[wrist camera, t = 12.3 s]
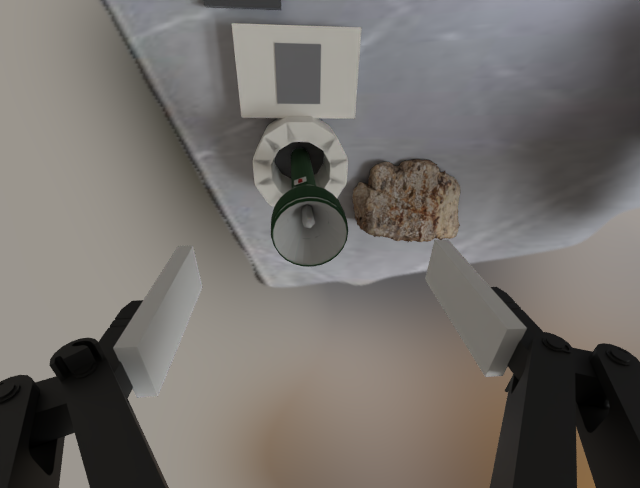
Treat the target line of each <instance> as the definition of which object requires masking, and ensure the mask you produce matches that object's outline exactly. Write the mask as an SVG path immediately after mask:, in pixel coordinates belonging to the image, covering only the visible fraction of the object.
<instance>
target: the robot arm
mask: <svg viewBox="0 0 640 488" xmlns="http://www.w3.org/2000/svg"><path fill="white" fill-rule="evenodd" d="M425 280H426V282H427V283H428V285H429V287H430V288H431V290H432V292H433V293H434V295H435V296H436V298H437V300H438V301H439V303H440V304H441V306H442V308H443V309H444V311H445V313H446V314H447V316H448V317H449V319H450V321H451V322H452V324H453V325H454V327H455V329H456V330H457V332H458V333H459V335H460V337H461V338H462V340H463V341H464V343H465V345H466V346H467V348H468V349H469V351H470V353H471V354H472V356H473V358H474V359H475V361H476V363H477V364H478V366H479V367H480V369H481V370H482V372H483V374H484V375H485V377H490V376H503V374H504V372H505V370H506V368H507V367H509V368H510V370H511V371H512V372H513V376H512V378H511V380H510V382H509V384H508V386H507V387H506V389H505V391H506V392H508V396H507V401H506V406H505V412H504V417H503V422H502V427H501V432H500V437H499V443H498V448H497V453H496V459H495V463H494V469H493V474H492V479H491V484H490V488H577V466H576V427H577V430H578V433H579V436H580V439H581V442H582V446H583V449H584V452H585V455H586V458H587V461H588V464H589V467H590V470H591V473H592V476H593V480H594V483H595V486H596V488H640V362H639V361H638V359H637V358H636V357H634V356H633V355H632V354H631V353H629V352H628V351H626V350H624V349H621V348H620V347H617V346H614V345H611V344H598V345H597V347H596V348H595V349H594V351H593V352H591V351H586V350H581V349H576V348H572V347H571V346H570V344H569V343H568V342H566V341H565V340H564V339H562V338H560V337H558V336H556V335H554V334H551V333H547V332H543V331H542V330H541V329H540V328H539V327H538V326H537V325H536V324H535V323H534V322H533V321H532V320H531V319H530V318H529V316H528V315H527V314H526V313H525V312H524V311H523V310H521V308H520V307H519V306H518V305H517V304H516V303H515V301H514V300H513V299H512V298H511V297H510V296H509V295H508V294H507V293H505V292H504V291H502V290H501V289H499V288H497V287H490V286H489V285H488V284H487V283H486V282H485V281H484V280H483V278H482V277H481V276H480V275H479V274H478V273H477V272H476V271H475V269H474V268H473V267H472V266H471V265H470V264H469V263H468V262H467V261H466V259H465V258H464V257H463V256H462V255H461V254H460V253H459V252H458V250H457V249H456V248H455V247H454V246H453V245H452V244H451V243H450V241H449V240H435V241H434V245H433V249H432V253H431V257H430V262H429V266H428V270H427V274H426V278H425ZM201 290H202V283H201V278H200V274H199V270H198V265H197V261H196V256H195V252H194V248H193V246H178V247H177V249H176V250H175V252H174V253H173V255H172V256H171V258H170V259H169V261H168V263H167V264H166V266H165V267H164V269H163V270H162V272H161V274H160V275H159V277H158V278H157V280H156V282H155V283H154V285H153V286H152V288H151V289H150V291H149V292H148V294H147V296H146V297H145V299H144V300H142V301H131V302H130V303H129V304H128V305H126V306H125V307H124V308H123V309H121V311H120V312H119V314H118V315H117V317H116V318H115V320H114V321H113V322H112V324H111V325H110V328H108V329H107V331H106V332H105V334H104V335H103V336H102V338H101V339H100V341H99V342H98V341H97V340H95V339H92V338H82V339H78V340H75V341H72V342H70V343H68V344H66V345H65V346H63V347H61V348H60V349H59V350H58V351H57V352H56V353H55V354H54V355H53V356H52V358H51V359H50V367H51V368H52V370H53V371H54V372H55V374H56V377H53V378H49V379H46V380H42V381H39V382H34V381H33V380H32V378H30V377H29V376H28V375H18V376H14V377H10V378H8V379H5V380H3V381H1V382H0V488H59V481H60V472H61V464H62V454H63V446H64V438H65V436H66V435H69V434H72V433H75V435H76V439H77V442H78V446H79V450H80V453H81V457H82V460H83V464H84V467H85V471H86V475H87V478H88V482H89V485H90V488H169V487H168V485H167V483H166V481H165V479H164V477H163V474H162V472H161V470H160V468H159V466H158V464H157V461H156V459H155V457H154V455H153V453H152V451H151V448H150V446H149V444H148V442H147V440H146V438H145V436H144V433H143V431H142V429H141V427H140V425H139V422H138V421H137V418H136V416H135V414H134V412H133V409H132V407H131V405H130V403H129V401H128V399H127V398H128V396H129V394H130V392H131V390H132V388H133V390H134V392H135V395H136V396H137V398H139V397H156V396H158V395H159V392H160V390H161V387H162V385H163V382H164V380H165V377H166V375H167V373H168V370H169V368H170V365H171V363H172V360H173V358H174V356H175V353H176V351H177V348H178V346H179V343H180V341H181V338H182V336H183V334H184V331H185V329H186V326H187V324H188V321H189V319H190V316H191V314H192V312H193V309H194V307H195V304H196V302H197V299H198V297H199V294H200V292H201Z"/></svg>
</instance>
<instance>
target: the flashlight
mask: <svg viewBox="0 0 640 488" xmlns="http://www.w3.org/2000/svg"><path fill="white" fill-rule="evenodd" d="M291 183H292V189H290V190H289V191H287V192H286V193H285V194H284V195H283V196H282V197H280V199H279V200H278V202H277V203H276V205H275V207H274V210H273V214H272V219H271V238H272V241H273V244H274V246H275V248H276V249H277V251H278V253H279V254H280V255H281V256H282V257H283V258H284V259H286V260H287V261H289V262H291V263H293V264H296V265H300V266H317V265H322V264H324V263H326V262H329V261H331V260H332V259H333V258H335V257H336V256H337V255H338V254H339V253H340V252H341V250H342V249H343V247H344V245H345V243H346V241H347V235H348V225H347V219H346V216H345V213H344V211H343V209H342V206H341V204H340V202H339V200H338V199H337V198H336V197H335V196H334V195H333V194H332V193H331V192H329V191H327V190H326V189H324V188H321V187H318V186H316V182H315V178H314V174H313V170H312V165H311V161H310V157H309V153H308V151H307V150H306V149H304V148H302V147H299V148H296V149H294V150H293V151H292V153H291Z"/></svg>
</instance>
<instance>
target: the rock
mask: <svg viewBox="0 0 640 488" xmlns="http://www.w3.org/2000/svg"><path fill="white" fill-rule="evenodd" d="M459 196H460V186H459V184H458V182H457V181H456V179H455V178H454V177H451V176H449V175H448V174H446V173H445V171H444V172H439V168H438V166H437V164H435V163H433V162H432V161H430V160H420V159H413V160H408V161H404V162H401V163H400V165H399V166H393V164H392V163H390V162H382V163H379V164H377V165H375V166H374V167H373V168H372V169H371V170H370V176H369V180H368V184H365V183H362V182H359V183H358V185H357V187H355V189H354V190H353V197H352V200H353V204H354V212H355V219H356V221H357V225H359V226H360V229H363V230H364V231H365V232H366V233H368V234H370V235H373V236H374V237H376V236H378V237H380V236H383V237H388V238H391V239H393V240H395V241H400V240H404V241H408V242H409V241H410V242H412V241H417V242H422V241H427V242H428V241H431V240H433V239H434V238H438V239H439V240H442V239H443V238H449V239H450V238H454V237H456V235H457V232H458V228H459V226H460V225H459V222H458V201H459Z"/></svg>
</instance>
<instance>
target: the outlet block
mask: <svg viewBox="0 0 640 488" xmlns="http://www.w3.org/2000/svg"><path fill="white" fill-rule="evenodd" d="M232 33H233V42H234V52H235V61H236V70H237V80H238V89H239V99H240V108H241V117H242V118H278V119H276V120H275V121H273V122H272V123H270V124H268V125H267V128H266V130H265V132H264V134H263V136H262V138H261V140H260V142H259V144H258V146H257V149H256V151H255V154H254V157H253V159H252V162H253V172H254V182H255V186H256V187H257V189H258V190H259V192H260V193H261V194H262V196H263V197H264V199H265V200H266V201H267V203H268V204H269V205H270V206H273V207H275V205H276V203H277V202H278V200H279V199H280V197H282V196H283V195H284V194H285V193H286V192H287V191H289V190H290V189H292V183H291V179H290V178H288V177H287V176H285V175H283V174H281V172H280V170H279V169H278V167H277V166H276V164H275V163H274V158H275V156H276V154H277V152H278V150H280V149H282V148H283V147H285V146H287V145H288V144H290V143H292V142H310V143H311V144H313V145H315V146H316V147H318V148H320V149H322V150H323V151H324V163H323V164H322V166H321V168H320V169H319V171H318V173H317V174H315V175H314V178H315V182H316V186H318V187H321V188H324V189H326V190H327V191H329V192H331V193H332V194H333V195H334V196H335V197H336V198H338V196H339V195H340V193H341V191H342V190H343V188H344V187H345V185H346V184H347V170H348V158H347V156H346V154H345V152H344V150H343V148H342V146H341V144H340V142H339V140H338V138H337V136H336V135H335V133H334V132H333V130H332V129H331V127H330V126H329V125H328V124H326V123H325V122H323V121H322V120H320V119H318V118H347V119H355V110H356V96H357V82H358V68H359V55H360V41H361V28H360V27H330V26H300V25H269V24H239V23H232Z"/></svg>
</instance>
